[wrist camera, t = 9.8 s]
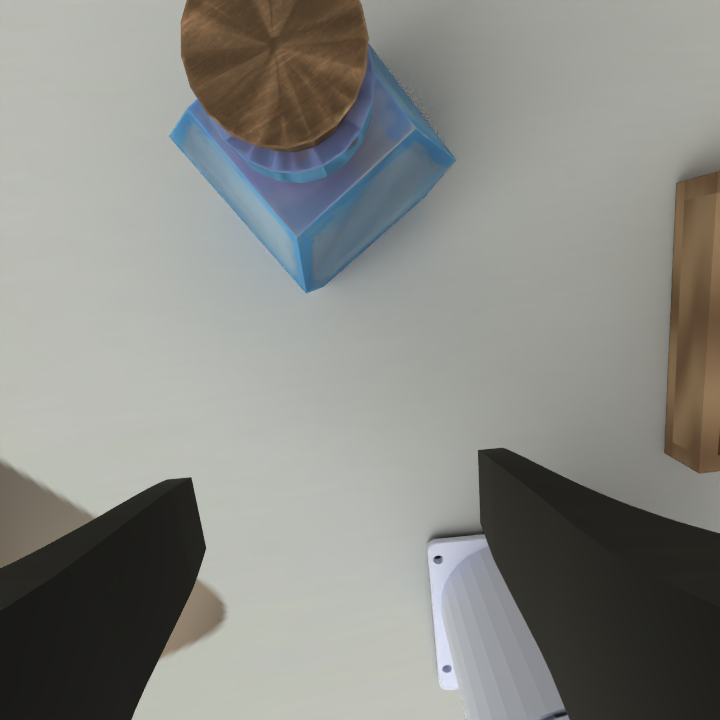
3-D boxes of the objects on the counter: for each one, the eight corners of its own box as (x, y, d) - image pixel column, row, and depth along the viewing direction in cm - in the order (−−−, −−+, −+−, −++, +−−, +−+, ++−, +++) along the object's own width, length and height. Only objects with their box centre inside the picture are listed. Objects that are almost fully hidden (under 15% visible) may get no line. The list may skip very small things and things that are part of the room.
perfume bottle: (334, 80, 18) (284, -292, 6) (425, 195, 19) (532, 68, 7) (231, 180, 19) (11, 24, 7) (322, 286, 20) (267, 308, 8)
